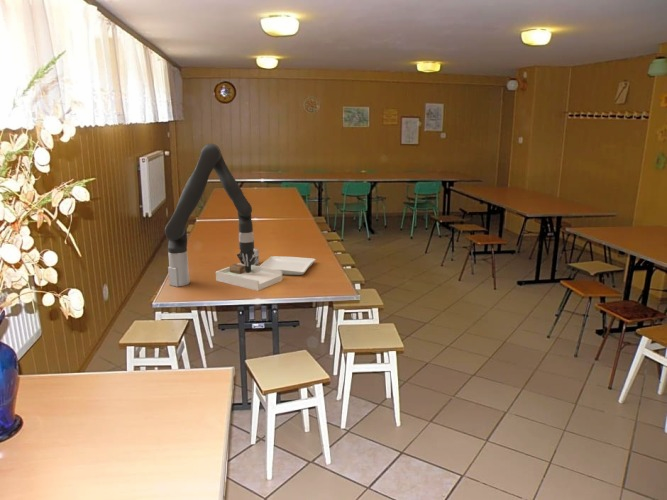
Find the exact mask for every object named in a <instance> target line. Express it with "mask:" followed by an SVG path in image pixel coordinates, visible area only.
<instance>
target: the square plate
mask: <svg viewBox="0 0 667 500" xmlns="http://www.w3.org/2000/svg"><path fill="white" fill-rule="evenodd" d="M316 260H317V259H316V258H311V257H310V258H309V257H299V256H298V257H297V256H284V255H283V256H282V255H281V256H274V255H271V256H270V257H269V258H267V259H266V260H264V261H263V262H262V263H261V264H260V265H259V266H260V267H264V268H269V269H274V270H279V271H282V275H286V276H301V275H304V274H305V273H306V271H307V270H308V269H309V268H310V267H311V266H312V265H313V264H314V263H315V262H316Z"/></svg>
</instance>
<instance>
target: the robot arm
mask: <svg viewBox="0 0 667 500" xmlns="http://www.w3.org/2000/svg"><path fill="white" fill-rule="evenodd" d="M213 170H214V172H215V173H216V175H217V177H218V179H219V181H220V184H221V185H222V187H223V189H224V191H225V192H226V195H228V197H229V199H230V201H232V203H233V205H234V207H235V209H236V211H237V217H238V218H237V219H238V245H239V253H238V254H236V256H237V258H238V259H239V261H240V263H242V264H244V265H245V271H246V273H250V272H251V265H254V263H255V262H256V260H257V259H258V256H255V255H254V251H253V250H254V249H255V235H254V230H253V228H254V227H253V221H252V212H253V208H252V205H251V203H250V202H249V201H248V199H247V197H246V196H245V195H244V194H245V193H244V192H243V190H242V189H241V187H240V185H239V184H238V182H237V180H236V179H235V176H233V174H232V172H231V171H230V169H229V168H228V166H227V164H226V162H225V159H224V157H223V154H222V152H221V149H220V147H219V146H218V145H216V144H214V143H207V144H205V145H204V146H203V147H202V148H201V150H200V155H199V158H198V160H197V164H196V166H195V169H194V170H193V172H192V173H191V175H190V176H189V178H188V179H187V181H186V183H185V185H184V187H183V189H182V191H181V194H180V197H179V199H178V202H177V205H176V207H175V210H174V212H173V214H172V215H171V218H170V220H169V221H168V222H167V224H166V226H165V228H164V233H165V236H166V238H167V239H168V243H167V244H168V245H167V252H168V253H167V254H168V265H169V266H168V267H167V270H168V274H167V275H168V282H169V285H170V286H172V287H176V288H177V287H184V286H188V285H189V284H190V283H191V282H190V281H191V280H190V271H189V259H188V233H187V232H188V231H187V222H188V221H189V218H190V216H191V215H192V213H193V212H194V210H196V208H197V206H198V204H199V203H200V201H201V198H202V196H203V195H204V193H205V189H206V187H207V184H208V182H209V181H208V180H209V178H210V175H211V173H212V171H213Z"/></svg>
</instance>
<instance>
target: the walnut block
mask: <svg viewBox="0 0 667 500" xmlns="http://www.w3.org/2000/svg"><path fill="white" fill-rule="evenodd" d="M229 267H230V272H231V273H236V274H242V273H245V272H246V271H245V266H244V265H239V263H234V264H231V265H229Z"/></svg>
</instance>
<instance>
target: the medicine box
mask: <svg viewBox="0 0 667 500" xmlns="http://www.w3.org/2000/svg"><path fill="white" fill-rule="evenodd" d="M253 251H254V255H255V256H258V259H257V260H256V262H255V263H254V265H255V266H258V265H259V264H260V255H259V254H260V253H259V252H260V251H259V249H257V248H254V250H253Z"/></svg>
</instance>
